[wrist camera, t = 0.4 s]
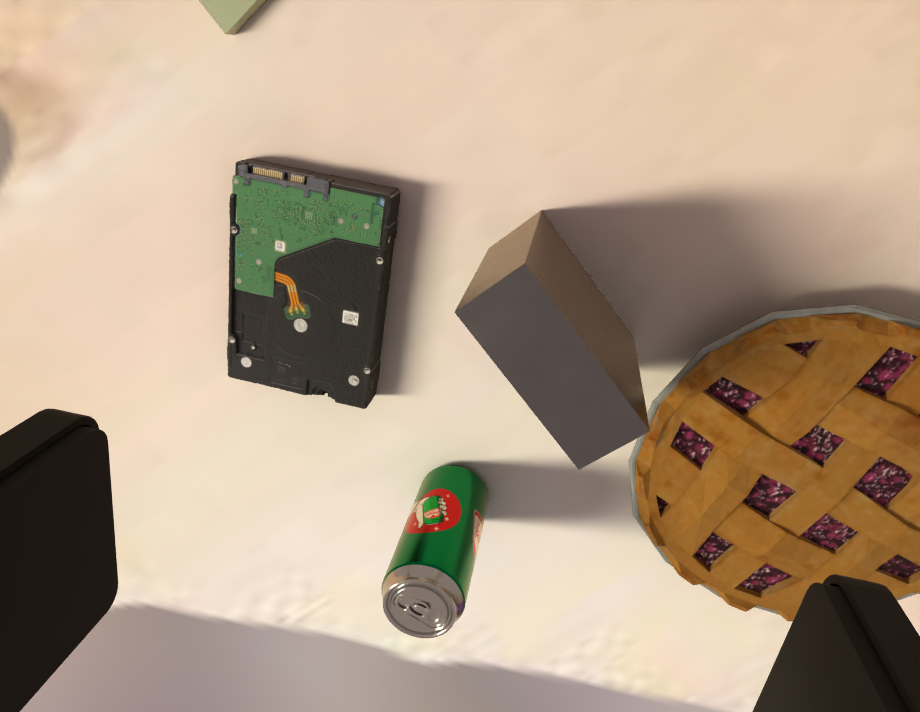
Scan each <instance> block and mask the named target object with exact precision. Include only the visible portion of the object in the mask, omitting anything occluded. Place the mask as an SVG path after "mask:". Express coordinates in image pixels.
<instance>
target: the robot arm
mask: <svg viewBox="0 0 920 712" xmlns="http://www.w3.org/2000/svg"><path fill="white" fill-rule="evenodd" d="M117 589H118V575H117V561H116V547H115V533H114V519H113V505H112V491H111V477H110V463H109V450H108V440H107V436H106V434H105V432H103V431H102V430H99V427H98V424H97V422H96V421H95V419H93V418H91V417H90V416H85V415H80V414H75V413H71V412H66V411H61V410H56V409H45V410H42V411H40V412H38V413H36V414H35V415H33V416H32V417H30V418H28V419H27V420H25V421H23V422H22V423H20V424H19V425H17V426H15V427H14V428H12V429H10V430H9V431H7V432H5V433H4V434H2V435H1V436H0V712H20V710H21V709H22V708H23V707H24V706H25V705H26V704H27V703H28V701H29V700H30V699H31V698H32V697H33V696H34V695H35V693H36V692H37V691H38V690H39V689H40V688H41V687H42V686H43V684H44V683H45V682H46V681H47V680H48V679H49V677H50V676H51V675H52V674H53V673H54V672H55V671H56V670H57V668H58V667H59V666H60V665H61V664H62V663H63V662H64V660H65V659H66V658H67V657H68V656H69V655H70V654H71V652H72V651H73V650H74V649H75V648H76V647H77V646H78V644H79V643H80V642H81V641H82V640H83V639H84V638H85V636H86V635H87V634H88V633H89V632H90V631H91V630H92V628H94V626H95V625H96V624H97V623H98V622H99V621H100V620H101V618H102V617H103V616H104V615H105V614H106V613H107V611H108V610H109V609H110V607H111V605H112V603H113V602H114V599H115V596H116V593H117ZM753 712H920V636H919V634H918V633H917V631H916V630H915V628H914V627H913V625H912V624H911V622H910V620H909V619H908V617H907V616H906V614H905V613H904V611H903V609H902V608H901V606H900V605H899V603H898V602H897V600H896V599H895V597H894V595H893V594H892V592H891V591H890V590H889V589H888V588H887V587H886V586H884V585H882V584H880V583H875V582H870V581H865V580H861V579H856V578H851V577H847V576H842V575H837V574H834V575H830V576H828V577H827V578H826V579H825V580H824V582H823V583H818V582H817V583H813V584H812V585H810V586H809V588H808V590H807V591H806V594H805V596H804V598H803V600H802V603H801V605H800V607H799V609H798V612H797V614H796V616H795V618H794V620H793V623H792V625H791V627H790V629H789V632H788V634H787V636H786V638H785V641H784V643H783V645H782V647H781V649H780V652H779V654H778V656H777V658H776V661H775V663H774V665H773V667H772V670H771V672H770V674H769V676H768V678H767V681H766V683H765V685H764V687H763V690H762V692H761V694H760V696H759V699H758V701H757V703H756V705H755V707H754V710H753Z"/></svg>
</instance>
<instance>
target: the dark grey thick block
mask: <svg viewBox="0 0 920 712" xmlns="http://www.w3.org/2000/svg"><path fill="white" fill-rule="evenodd" d="M455 313H456V315H457V316H458V317H459V318H460V320H461V321H462V322H463V324H464V325H465V326H466V327H467V329H468V330H469V331H470V332H471V334H472V335H473V336H474V337H475V339H476V340H477V341H478V343H479V344H480V345H481V346H482V348H483V349H484V350H485V351H486V353H487V354H488V355H489V356H490V358H491V359H492V360H493V362H494V363H495V364H496V365H497V367H498V368H499V369H500V370H501V372H502V373H503V374H504V376H505V377H506V378H507V379H508V381H509V382H510V383H511V384H512V386H513V387H514V388H515V389H516V391H517V392H518V393H519V395H520V396H521V397H522V398H523V400H524V401H525V402H526V403H527V405H528V406H529V407H530V408H531V410H532V411H533V412H534V414H535V415H536V416H537V417H538V419H539V420H540V421H541V422H542V424H543V425H544V426H545V428H546V429H547V430H548V431H549V433H550V434H551V435H552V436H553V438H554V439H555V440H556V441H557V443H558V444H559V445H560V447H561V448H562V449H563V450H564V452H565V453H566V454H567V455H568V457H569V458H570V459H571V460H572V462H573V463H574V464H575V466H576V467H577V468H578V469H581V468H583V467H585V466H586V465H588V464H590V463H592V462H594V461H596V460H598V459H599V458H601V457H603V456H605V455H607V454H609V453H611V452H612V451H614V450H616V449H618V448H620V447H622V446H623V445H625V444H627V443H629V442H631V441H633V440H635V439H636V438H638V437H640V436H642V435H644V434H646V433H648V432H649V431H650V429H649V423H648V417H647V411H646V406H645V400H644V394H643V388H642V383H641V377H640V371H639V365H638V360H637V354H636V348H635V342H634V338H633V336H632V335H631V333H630V332H629V331H628V329H627V328H626V327H625V325H624V324H623V322H622V321H621V320H620V318H619V317H618V315H617V314H616V313H615V311H614V310H613V309H612V307H611V306H610V304H609V303H608V302H607V300H606V299H605V297H604V296H603V295H602V293H601V292H600V291H599V289H598V288H597V286H596V285H595V284H594V282H593V281H592V279H591V278H590V277H589V275H588V274H587V273H586V271H585V270H584V268H583V267H582V266H581V264H580V263H579V261H578V260H577V259H576V257H575V256H574V255H573V253H572V252H571V250H570V249H569V248H568V246H567V245H566V243H565V242H564V241H563V239H562V238H561V237H560V235H559V234H558V232H557V231H556V230H555V228H554V227H553V225H552V224H551V223H550V221H549V220H548V219H547V217H546V216H545V214H544V213H543V212H542V210H541V211H540V212H538V213H537V214H536V215H534V216H533V217H531V218H530V219H529V220H527V221H526V222H525V223H523V224H522V225H520V226H519V227H518V228H516V229H515V230H514V231H512V232H511V233H510V234H508V235H507V236H505V237H504V238H503V239H501V240H500V241H499V242H497V243H496V244H494V245H493V246H492V247H490V248H489V249H488V251H487V253H486V255H485V257H484V259H483V260H482V262H481V264H480V266H479V268H478V270H477V272H476V273H475V275H474V277H473V279H472V281H471V283H470V285H469V286H468V288H467V290H466V292H465V294H464V296H463V298H462V299H461V301H460V303H459V305H458V307H457V309H456V311H455Z"/></svg>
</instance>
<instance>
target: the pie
mask: <svg viewBox="0 0 920 712" xmlns="http://www.w3.org/2000/svg"><path fill="white" fill-rule="evenodd" d="M647 417H648V423H649V429H650V431H649V432H648V433H646V434H644V435H642V436H640V437H638V439H637V441H636V444H635V446H634V449H633V451H632V454H631V456H630V459H629V467H630V480H631V493H632V506H633V516H634V517H635V519H636V520H637V522H638V523H639V525H640V526H641V527H642V529H643V530H644V532H645V533H646V535H647V536H648V537H649V539H650V540H651V542H652V543H653V545H654V546H655V547H656V549H657V550H658V552H659V553H660V555H661V556H662V557H663V559H664V560H665V562H667V563H668V564H670V565H671V566H673V567H674V569H675V570H676V571H677V573H678V574H679V575H680V576H681V577H683V578H684V579H685V580H687V581H688V582H690V583H691V584H692V585H697V584H701V585H702V586H704V587H705V588H707V589H708V590H710V591H711V592H713V593H714V594H716V595H717V596H719V597H722V598H723V599H724V600H725V601H726V602H727V603H728V604H729V605H731V606H733V607H735V608H738V609H740V610H743V611H745V612H746V611H748V610H750V609H752V608H753V607H756V608H759V609H762V610H766V611H769V612H773V613H776V614H779V615H781V616H782V617H783V618H785V619H786V620H787V621H793V620H794V618H795V616H796V614H797V612H798V609H799V607H800V605H801V603H802V600H803V598H804V596H805V594H806V591H807V590H808V588H809V586H810V585H812V584H813V583H817V582H818V583H823V582H824V580H825V579H826V578H827V577H828V576H830V575H834V574H837V575H842V576H847V577H851V578H856V579H861V580H865V581H870V582H875V583H880V584H882V585H884V586H886V587H887V588H888V589H889V590H890V591H891V592H892V594H893V595H894V597H895V599H896V600H900V599H903V598H906V597H909V596H912V595H915V594H918V593H919V594H920V321H917V320H913V319H909V318H905V317H901V316H898V315H894V314H890V313H886V312H882V311H879V310H875V309H871V308H867V307H864V306H860V305H845V306H833V307H822V308H811V309H800V310H788V311H777V312H771V313H769V314H767V315H765V316H763V317H761V318H759V319H758V320H756V321H754V322H752V323H750V324H748V325H746V326H744V327H742V328H740V329H738V330H736V331H734V332H732V333H730V334H728V335H726V336H724V337H723V338H721V339H719V340H717V341H715V342H713V343H711V344H709V345H707V346H705V347H703V348H701V349H700V350H699V352H698V353H697V354H696V355H695V356H694V357H693V358H692V359H691V360H690V361H689V362H688V363H687V365H686V366H685V367H684V368H683V369H682V370H681V371H680V372H679V373H678V374H677V375H676V377H675V378H674V379H673V380H672V381H671V382H670V383H669V384H668V385H667V386H666V387H665V388H664V390H663V391H662V392H661V393H660V394H659V395H658V396H657V397H656V398H655V399H654V400H653V402H652V404H651V406H650V409H649V411H648V414H647Z"/></svg>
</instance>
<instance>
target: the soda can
mask: <svg viewBox="0 0 920 712" xmlns="http://www.w3.org/2000/svg"><path fill="white" fill-rule="evenodd" d="M488 502H489V496H488V491H487V488H486V486H485V484H484V482H483V481H482V480H481V479H480V478H479V477H478V476H477V475H476V474H475V473H473V472H472V471H470V470H468V469H466V468H463V467H459V466H442V467H439V468H436V469H434V470H432V471H431V472H430V473H428V474H427V476H426V477H425V478H424V480H423V482H422V484H421V487H420V489H419V492H418V494H417V497H416V499H415V502H414V504H413V507H412V509H411V512H410V514H409V517H408V519H407V522H406V524H405V527H404V529H403V532H402V535H401V537H400V540H399V542H398V545H397V547H396V550H395V552H394V555H393V557H392V560H391V562H390V565H389V567H388V570H387V572H386V575H385V577H384V580H383V583H382V596H383V609H384V612H385V615H386V617H387V618H388V620H389V621H390V622H391V623H392V624H393V625H394V626H395V627H396V628H397V629H399V630H400V631H402V632H404V633H406V634H408V635H411V636H414V637H419V638H433V637H437V636H440V635H442V634H444V633H446V632H447V631H448V630H449V629H450V628H451V627H452V625H453V624H454V622H456V621H457V620H458V619H459V618H460V616H461V615H462V613H463V611H464V608H465V603H466V599H467V594H468V590H469V586H470V581H471V577H472V572H473V568H474V563H475V559H476V555H477V550H478V546H479V541H480V537H481V533H482V528H483V524H484V519H485V515H486V511H487V506H488Z"/></svg>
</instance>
